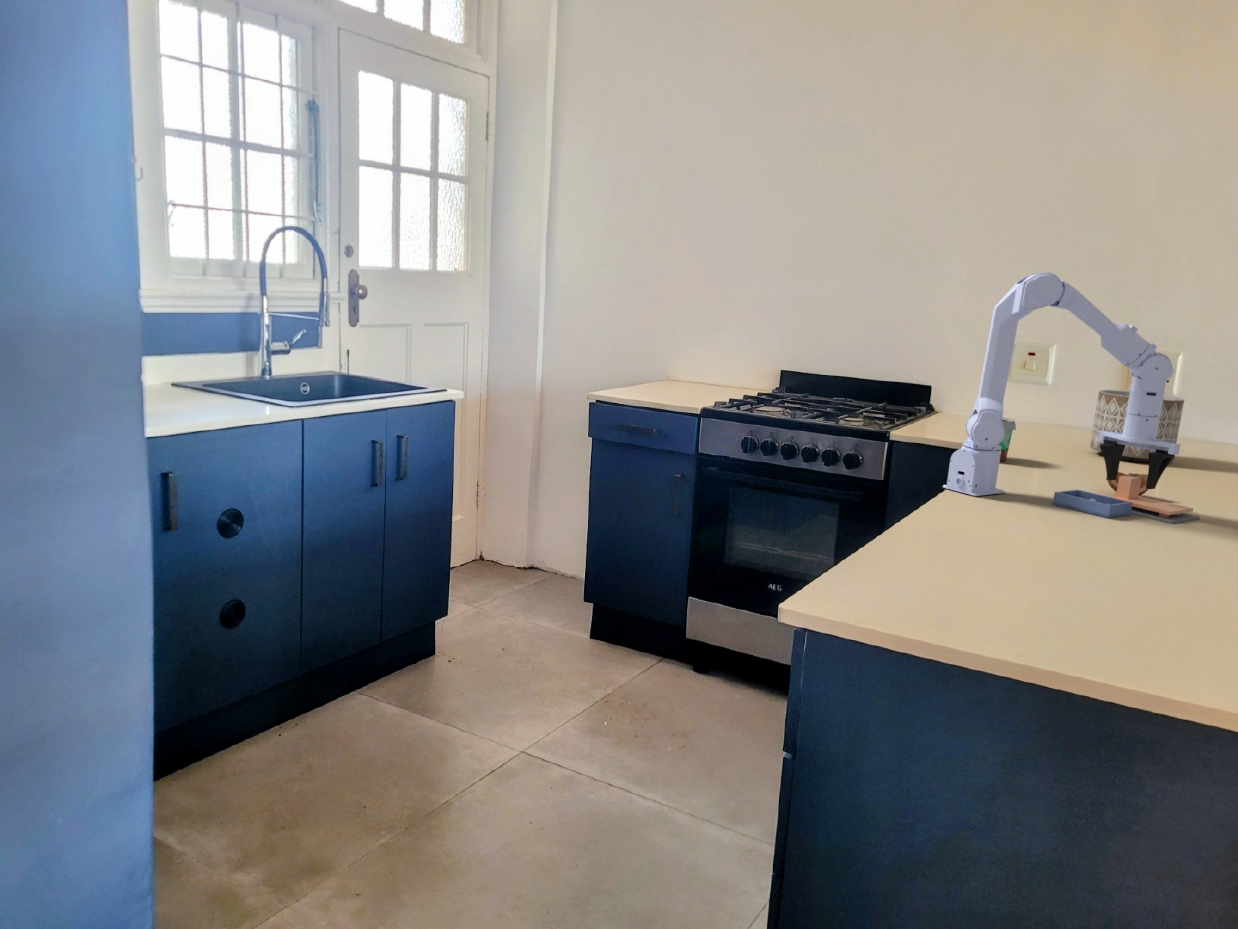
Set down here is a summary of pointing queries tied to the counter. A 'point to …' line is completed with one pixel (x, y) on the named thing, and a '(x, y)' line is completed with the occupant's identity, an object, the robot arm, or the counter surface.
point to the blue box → (1092, 503)
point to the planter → (1114, 414)
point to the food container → (1006, 437)
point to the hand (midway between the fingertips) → (1130, 484)
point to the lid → (1130, 492)
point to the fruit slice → (1114, 483)
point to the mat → (1170, 519)
